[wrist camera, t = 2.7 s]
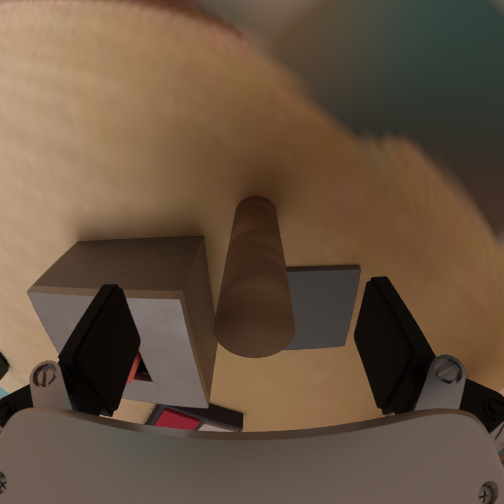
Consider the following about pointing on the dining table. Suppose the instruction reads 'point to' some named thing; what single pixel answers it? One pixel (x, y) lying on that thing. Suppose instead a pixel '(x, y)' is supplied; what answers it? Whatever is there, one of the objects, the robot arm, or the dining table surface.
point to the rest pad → (322, 305)
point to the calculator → (196, 418)
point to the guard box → (142, 310)
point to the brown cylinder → (255, 285)
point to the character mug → (3, 368)
